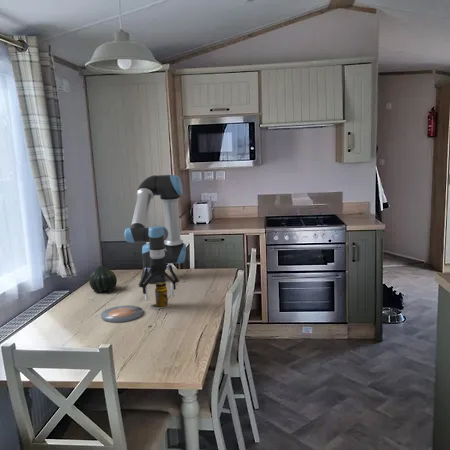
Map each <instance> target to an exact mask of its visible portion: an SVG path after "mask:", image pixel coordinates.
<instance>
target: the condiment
mask: <svg viewBox="0 0 450 450" xmlns="http://www.w3.org/2000/svg"><path fill="white" fill-rule="evenodd" d="M154 294H155V304H150V305H149V306H150V308H153V309H154V310H159V309H163V308H164V309H165V308H168V307H171V305H170V304H169V302H168V301H169V300H168V288H167V283H166V282H165V281H163V282H158V283H155V289H154Z"/></svg>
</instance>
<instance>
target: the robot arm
mask: <svg viewBox="0 0 450 450" xmlns="http://www.w3.org/2000/svg"><path fill="white" fill-rule="evenodd" d="M183 191H184V190H183V183H182V180H181V178H180V176H179V175H177V174H163V175H162V174H158V175H150V176H148V177H146V178H145V179H144V180H143V181H142V182H141V183H140V184H139V185H138V187H137V191H136V196H137V197H136V198H137V199H136V202H135V208H134V212H133V216H132V220H131V225H130V227H127V228H125V229H124V240H125V241H126V242H127V243H134V244H135V243H145V244H144V245H142V248H141V256H142V258H141V259H142V272H141V276H140V280H139V283H138V287H139V288H142V294H143V295H144V298H145V301H148V300H149V295H148V287H147V286H148V285H149V284H152V285H153V284H156V283H158V282H165V281H166V280H167V279H169V281H170V294H171V295H170V296H171V297H175V292H174V291H175V290H176V284H177V283H179V282H180V280H179V278H178V276H177V275H176V273H175V272H174V270H173V265H174V264H183V263H184V262H185V261H186V256H187V255H186V254H187V244H185V243H184V240H183V239H182V238H181V229H180V214H179V200H180V198H181V196H182V195H183ZM154 196H159V197H160V198H159V199H160V200H161V201H162V203H163V204H162V205H163V215H164V217H163V218H164V226H163V225H154V226H150V227H146V226H147V222H148V221H147V220H148V215H149V211H150V206H151V202H152V200H153V198H154ZM166 264H168V265H166ZM172 264H173V265H172ZM166 270H169V272H170V274H171V276H172V277H173V278H172V277H171V276H170V275H169V274H168V273H167V272H166Z"/></svg>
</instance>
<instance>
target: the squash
mask: <svg viewBox="0 0 450 450" xmlns="http://www.w3.org/2000/svg"><path fill="white" fill-rule="evenodd" d="M89 276H90V277H89V280H88V283H89V286H90V288H91V289H92V290H93V291H94V292H95V293H102V292H105V291H106V292H112V291H113V290H114V289H115V288H116V286H117V281H118V279H117V277H116V273H114V271H112V270H110V269H109V268H107V267H104V266H102V265H99V266H97V267H96V269H94V271H92V273H91V274H90V275H89Z"/></svg>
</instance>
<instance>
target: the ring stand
mask: <svg viewBox="0 0 450 450" xmlns="http://www.w3.org/2000/svg"><path fill="white" fill-rule="evenodd" d="M143 315H144V310H143V308H142V307H140V306H137V305H127V304H125V305H118V306H114V307H110V308H106V309H104V311H102V312H101V313H100V319H101V320H103V321H104V322H108V323H124V322H125V323H127V322H131V321H134V320H137V319H139V318H140V317H142V316H143Z"/></svg>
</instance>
